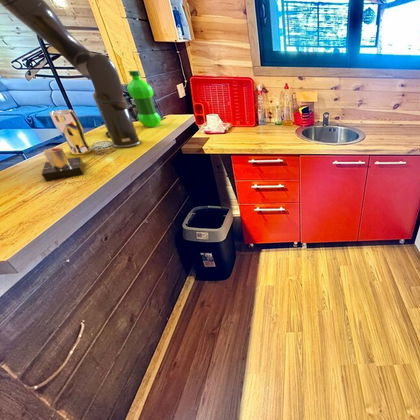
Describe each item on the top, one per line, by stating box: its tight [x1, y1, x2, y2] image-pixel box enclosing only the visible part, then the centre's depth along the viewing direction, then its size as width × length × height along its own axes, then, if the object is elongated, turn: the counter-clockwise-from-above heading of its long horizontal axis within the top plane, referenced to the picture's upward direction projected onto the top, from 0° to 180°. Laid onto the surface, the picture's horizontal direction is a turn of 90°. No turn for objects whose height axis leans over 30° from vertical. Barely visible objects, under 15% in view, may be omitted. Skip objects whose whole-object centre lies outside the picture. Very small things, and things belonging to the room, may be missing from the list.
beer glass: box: [49, 109, 92, 155], centre depth 96 cm, size 7×7×15 cm
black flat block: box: [41, 156, 84, 182], centre depth 84 cm, size 11×9×3 cm
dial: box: [42, 147, 71, 169], centre depth 81 cm, size 4×4×6 cm
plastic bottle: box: [126, 70, 162, 128], centre depth 125 cm, size 10×10×25 cm
